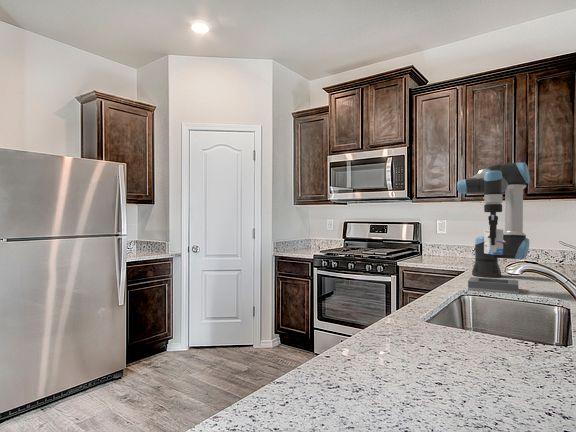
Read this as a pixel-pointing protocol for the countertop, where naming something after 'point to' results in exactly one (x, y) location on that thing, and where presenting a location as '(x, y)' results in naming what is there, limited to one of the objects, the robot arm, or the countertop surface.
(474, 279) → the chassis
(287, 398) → the countertop surface
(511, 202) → the robot arm
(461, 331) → the countertop surface
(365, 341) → the countertop surface
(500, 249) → the ink box
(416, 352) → the countertop surface
